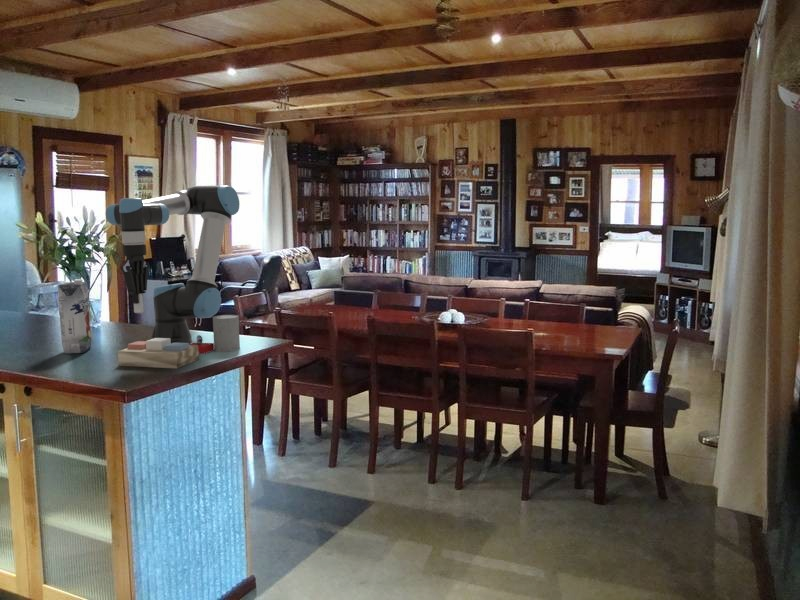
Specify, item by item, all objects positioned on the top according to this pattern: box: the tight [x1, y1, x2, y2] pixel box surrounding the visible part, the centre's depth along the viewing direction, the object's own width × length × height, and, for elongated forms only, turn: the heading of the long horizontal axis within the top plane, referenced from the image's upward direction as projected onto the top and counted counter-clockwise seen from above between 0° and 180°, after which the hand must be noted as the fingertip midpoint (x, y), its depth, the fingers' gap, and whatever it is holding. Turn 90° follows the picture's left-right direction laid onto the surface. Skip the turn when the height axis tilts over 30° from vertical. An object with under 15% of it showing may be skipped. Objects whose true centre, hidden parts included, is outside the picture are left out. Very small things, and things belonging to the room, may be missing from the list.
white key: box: [146, 338, 171, 350], centre depth 242 cm, size 6×6×3 cm
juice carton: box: [57, 278, 92, 354], centre depth 262 cm, size 9×10×27 cm
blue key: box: [165, 342, 190, 351], centre depth 240 cm, size 6×6×3 cm
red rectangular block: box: [189, 334, 215, 354], centre depth 261 cm, size 8×7×6 cm
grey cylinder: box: [211, 314, 241, 353], centre depth 264 cm, size 10×10×12 cm
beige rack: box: [117, 345, 200, 369], centre depth 242 cm, size 14×22×5 cm, turn 76°
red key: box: [127, 340, 147, 350], centre depth 244 cm, size 6×6×3 cm
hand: (138, 312), depth 242 cm, fingers closed
